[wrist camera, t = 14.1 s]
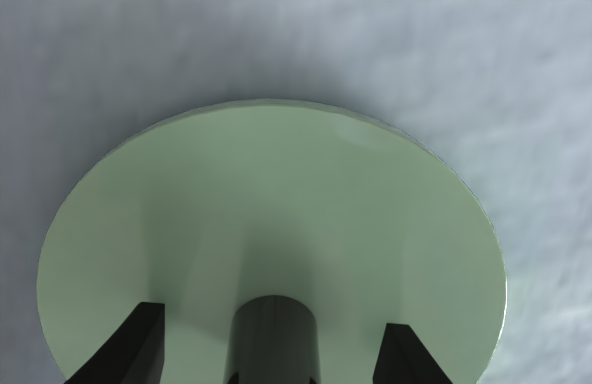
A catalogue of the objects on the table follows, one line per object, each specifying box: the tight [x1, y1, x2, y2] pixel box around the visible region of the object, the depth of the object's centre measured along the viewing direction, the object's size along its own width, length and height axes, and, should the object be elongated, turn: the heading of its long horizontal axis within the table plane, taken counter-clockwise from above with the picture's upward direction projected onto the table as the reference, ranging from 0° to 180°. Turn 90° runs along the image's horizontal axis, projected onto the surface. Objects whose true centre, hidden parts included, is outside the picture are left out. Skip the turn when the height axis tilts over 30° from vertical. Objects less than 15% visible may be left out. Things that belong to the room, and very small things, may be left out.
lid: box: [36, 98, 507, 384], centre depth 13 cm, size 13×13×5 cm
